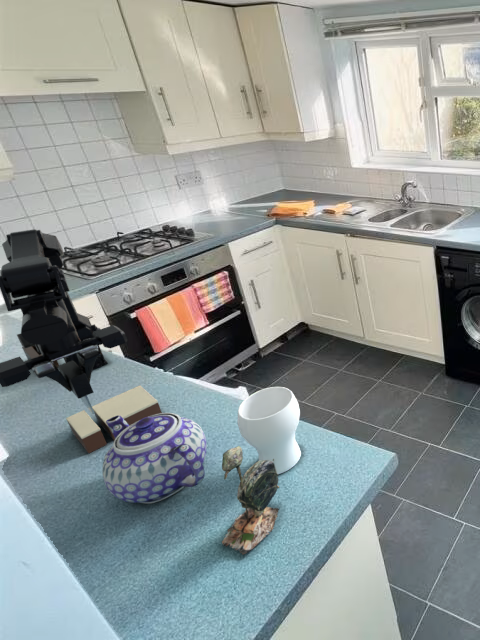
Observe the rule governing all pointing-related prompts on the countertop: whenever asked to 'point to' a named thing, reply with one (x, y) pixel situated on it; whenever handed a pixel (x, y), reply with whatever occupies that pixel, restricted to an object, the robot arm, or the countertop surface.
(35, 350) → the knife block
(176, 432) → the teapot
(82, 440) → the cream-topped brown block
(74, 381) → the black handle
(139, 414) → the cake loaf
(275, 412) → the cup
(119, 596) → the countertop surface
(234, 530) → the bird figurine
